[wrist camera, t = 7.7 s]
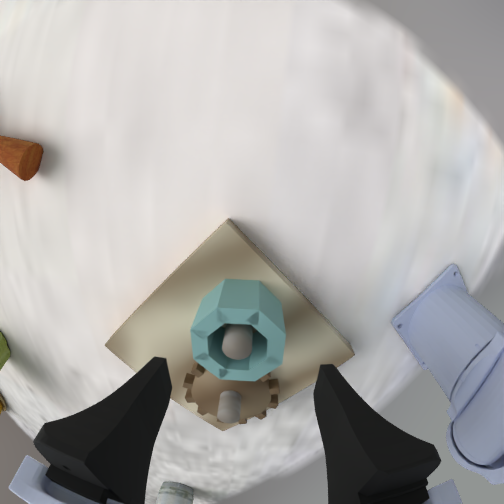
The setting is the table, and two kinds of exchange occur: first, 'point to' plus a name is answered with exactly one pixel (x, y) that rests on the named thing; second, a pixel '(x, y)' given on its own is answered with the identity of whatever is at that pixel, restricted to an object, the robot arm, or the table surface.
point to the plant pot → (3, 351)
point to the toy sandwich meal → (2, 404)
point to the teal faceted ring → (239, 312)
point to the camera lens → (175, 494)
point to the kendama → (20, 156)
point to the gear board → (184, 303)
